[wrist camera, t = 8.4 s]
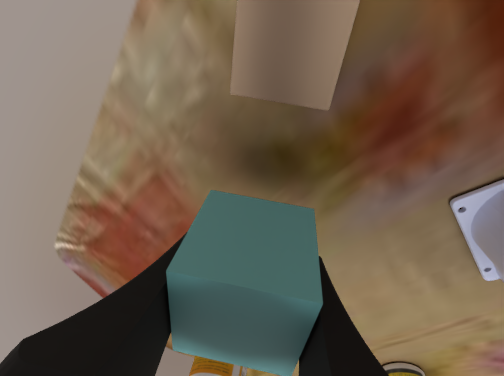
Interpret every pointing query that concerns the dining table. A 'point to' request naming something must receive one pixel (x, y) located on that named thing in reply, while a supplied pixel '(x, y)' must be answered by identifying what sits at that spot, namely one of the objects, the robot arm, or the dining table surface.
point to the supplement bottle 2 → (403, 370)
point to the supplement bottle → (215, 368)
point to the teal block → (246, 283)
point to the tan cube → (290, 49)
